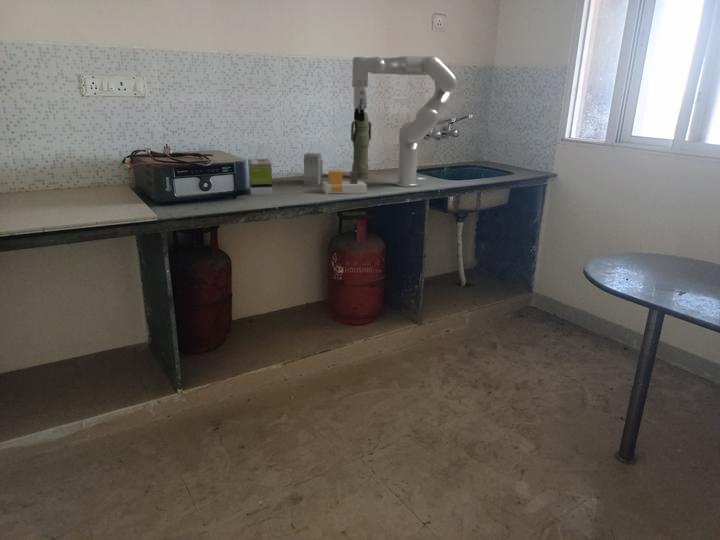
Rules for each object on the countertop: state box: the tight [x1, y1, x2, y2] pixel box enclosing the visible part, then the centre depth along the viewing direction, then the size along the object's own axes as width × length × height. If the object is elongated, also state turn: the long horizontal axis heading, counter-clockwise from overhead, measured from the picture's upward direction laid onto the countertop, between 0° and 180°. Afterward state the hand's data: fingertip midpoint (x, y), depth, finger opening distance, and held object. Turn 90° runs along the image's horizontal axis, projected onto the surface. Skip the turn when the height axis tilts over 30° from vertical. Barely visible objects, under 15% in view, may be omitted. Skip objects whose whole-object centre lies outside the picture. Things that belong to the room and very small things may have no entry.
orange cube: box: [328, 169, 343, 185], centre depth 253 cm, size 6×6×6 cm
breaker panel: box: [322, 180, 368, 195], centre depth 255 cm, size 20×10×4 cm, turn 102°
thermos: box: [350, 111, 373, 179], centre depth 289 cm, size 9×12×35 cm
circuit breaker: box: [303, 152, 323, 186], centre depth 274 cm, size 8×14×15 cm, turn 174°
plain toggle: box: [349, 170, 358, 184], centre depth 255 cm, size 3×3×7 cm
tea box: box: [247, 158, 273, 196], centre depth 247 cm, size 15×10×15 cm, turn 14°
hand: (359, 120), depth 263 cm, fingers open, 9 cm apart
